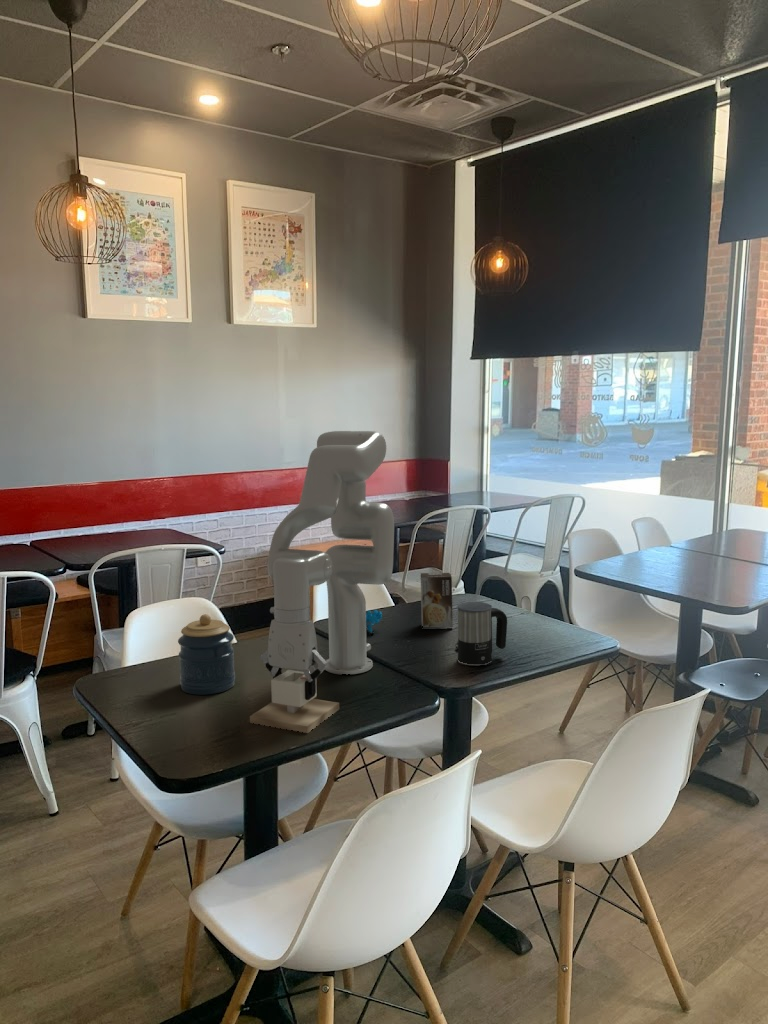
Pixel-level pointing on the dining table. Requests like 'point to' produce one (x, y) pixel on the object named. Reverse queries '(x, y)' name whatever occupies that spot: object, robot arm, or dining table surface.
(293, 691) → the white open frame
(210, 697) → the dining table surface
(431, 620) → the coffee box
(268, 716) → the base
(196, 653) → the canister
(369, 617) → the blue green toy
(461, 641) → the milk frother
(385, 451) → the robot arm
